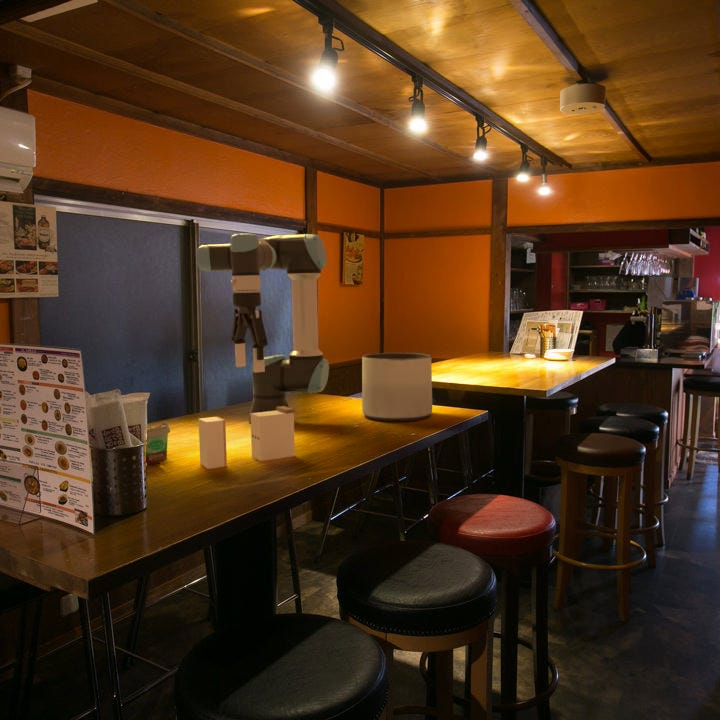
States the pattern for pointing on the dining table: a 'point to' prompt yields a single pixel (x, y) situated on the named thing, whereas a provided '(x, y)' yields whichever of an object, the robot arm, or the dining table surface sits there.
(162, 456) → the food container
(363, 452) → the dining table surface
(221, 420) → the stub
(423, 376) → the planter
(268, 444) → the cream rectangular box
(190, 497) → the dining table surface
